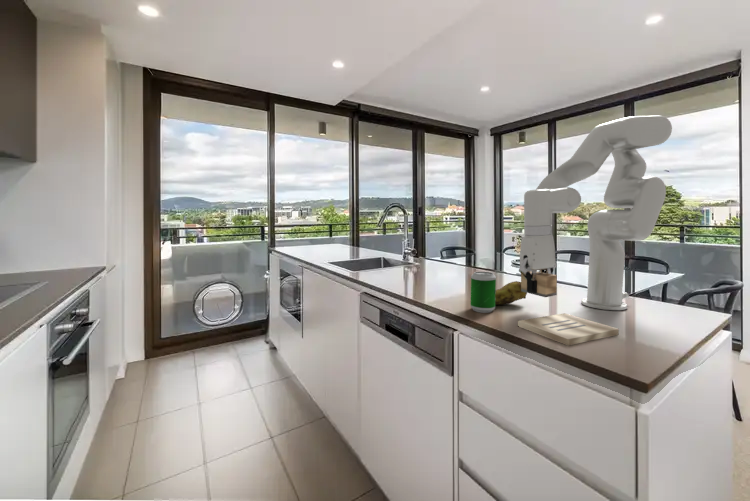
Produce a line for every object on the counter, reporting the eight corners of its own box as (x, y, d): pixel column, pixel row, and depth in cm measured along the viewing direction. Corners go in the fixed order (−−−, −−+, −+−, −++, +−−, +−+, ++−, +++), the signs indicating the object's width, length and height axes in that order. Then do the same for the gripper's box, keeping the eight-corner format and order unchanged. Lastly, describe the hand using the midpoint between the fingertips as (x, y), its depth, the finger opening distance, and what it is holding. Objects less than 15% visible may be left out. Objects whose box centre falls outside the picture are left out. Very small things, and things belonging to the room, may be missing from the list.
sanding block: (531, 289, 107) (531, 270, 106) (556, 295, 99) (556, 275, 98) (521, 291, 105) (520, 272, 105) (545, 297, 97) (545, 277, 96)
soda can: (496, 314, 103) (497, 275, 102) (471, 312, 104) (472, 274, 103) (493, 307, 110) (494, 271, 109) (469, 306, 112) (470, 270, 110)
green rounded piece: (485, 300, 119) (486, 278, 118) (524, 302, 116) (525, 279, 115) (488, 306, 111) (488, 283, 110) (529, 309, 108) (530, 284, 107)
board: (564, 318, 98) (564, 313, 98) (618, 334, 84) (618, 328, 84) (517, 326, 91) (518, 320, 91) (568, 345, 78) (568, 339, 77)
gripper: (547, 229, 106) (547, 285, 109) (506, 233, 100) (507, 293, 102) (569, 229, 100) (569, 289, 102) (526, 234, 93) (527, 298, 95)
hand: (538, 290), depth 102 cm, fingers closed on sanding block, 4 cm apart
